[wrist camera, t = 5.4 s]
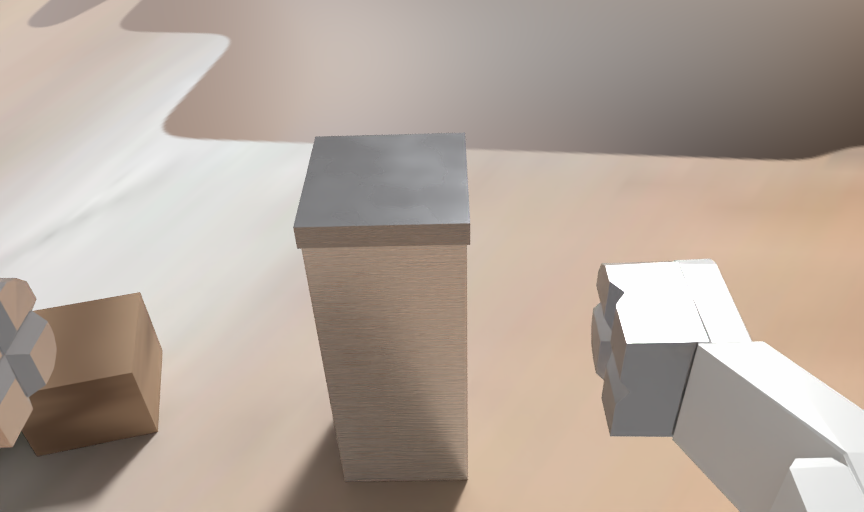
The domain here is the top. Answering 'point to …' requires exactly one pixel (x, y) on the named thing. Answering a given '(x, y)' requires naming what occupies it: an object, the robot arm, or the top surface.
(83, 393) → the walnut block
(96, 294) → the top surface
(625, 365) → the robot arm
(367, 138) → the tea tin
